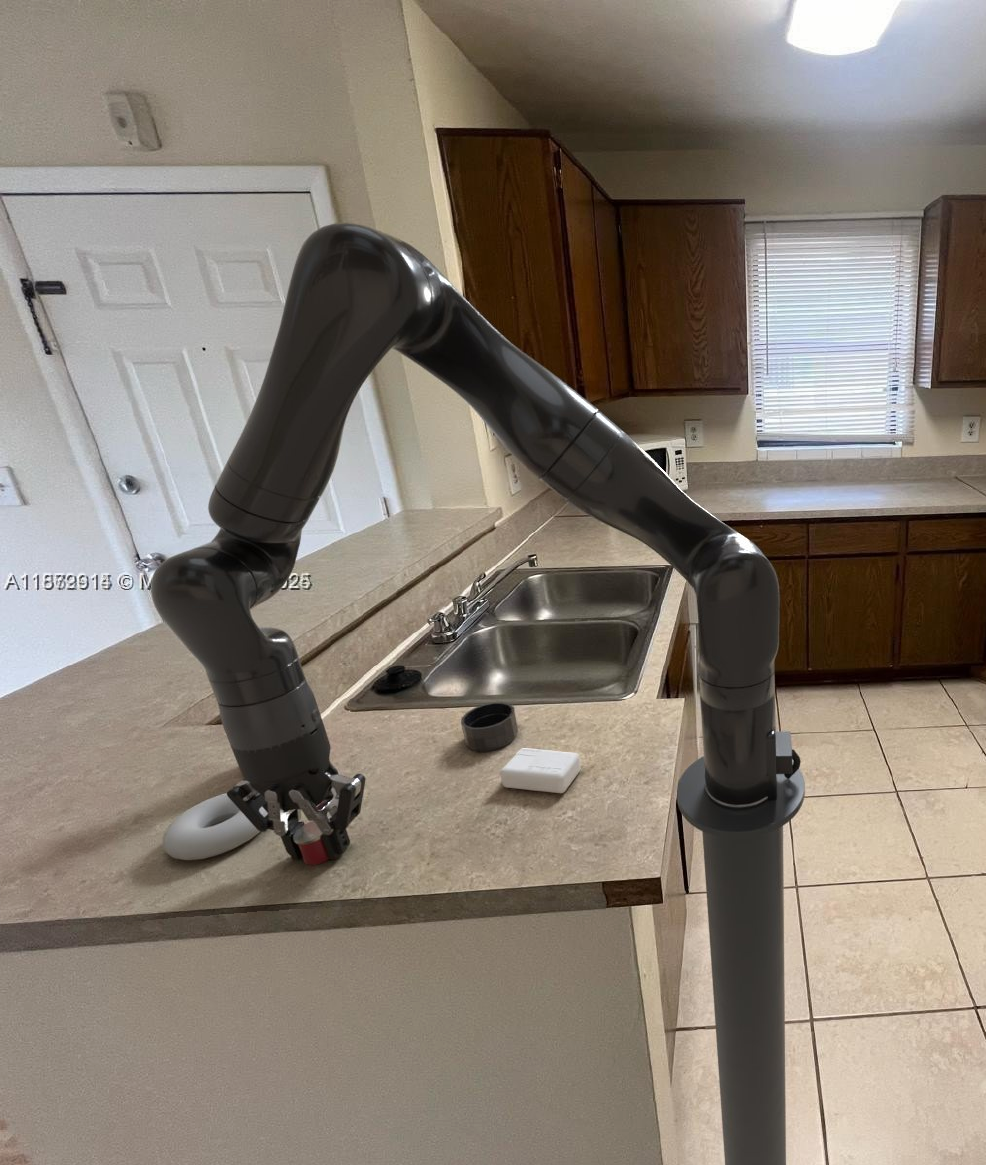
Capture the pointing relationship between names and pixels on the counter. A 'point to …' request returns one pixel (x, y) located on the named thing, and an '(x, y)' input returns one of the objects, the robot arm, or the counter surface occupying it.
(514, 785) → the soap
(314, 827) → the pod
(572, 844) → the counter surface
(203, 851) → the donut
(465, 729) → the bowl
